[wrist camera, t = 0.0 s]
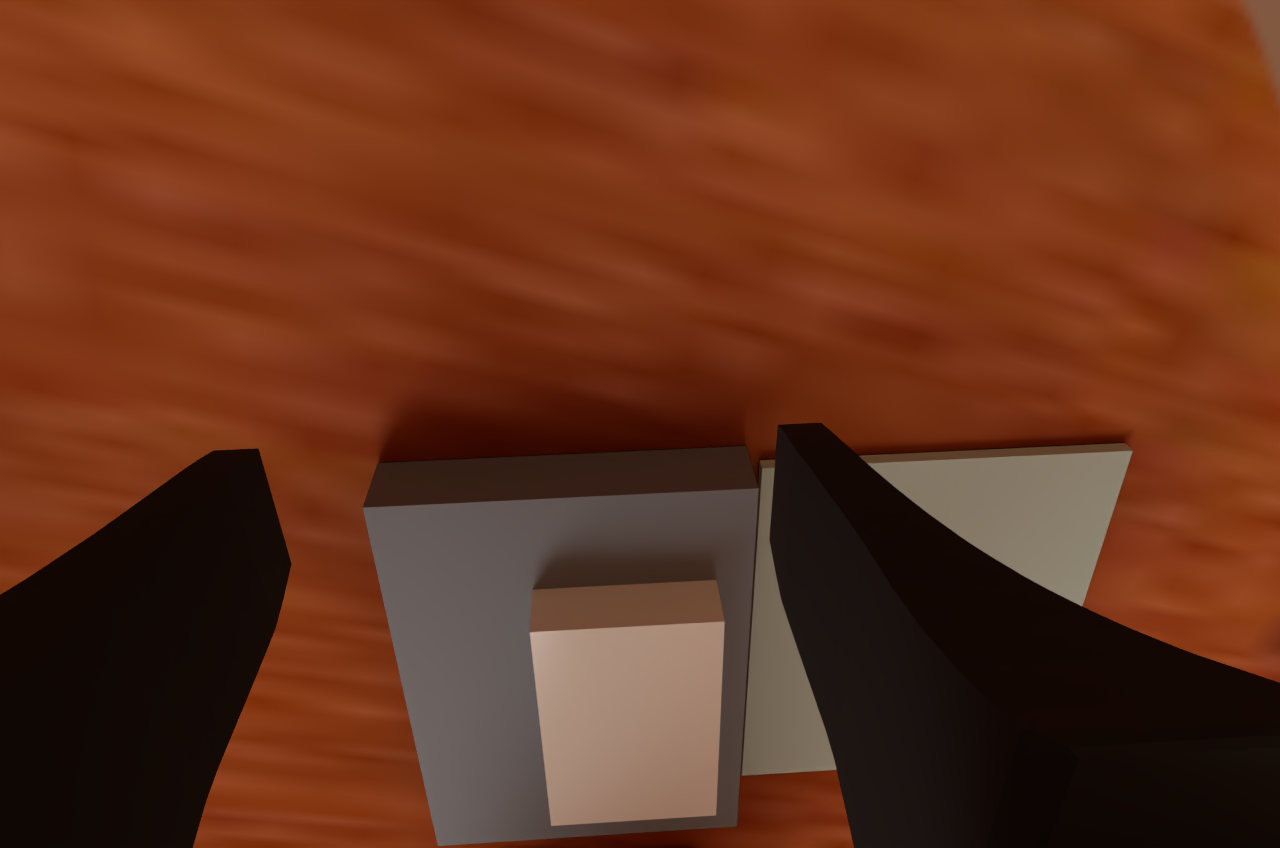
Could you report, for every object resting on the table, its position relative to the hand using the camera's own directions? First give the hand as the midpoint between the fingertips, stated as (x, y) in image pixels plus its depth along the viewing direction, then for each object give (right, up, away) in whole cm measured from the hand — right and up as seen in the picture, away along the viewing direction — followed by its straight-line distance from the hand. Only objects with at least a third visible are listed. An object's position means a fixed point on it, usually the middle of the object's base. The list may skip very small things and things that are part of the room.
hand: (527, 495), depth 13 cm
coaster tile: (+1, -7, +14) cm, 15 cm away
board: (0, -6, +15) cm, 16 cm away
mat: (+10, -5, +16) cm, 20 cm away
